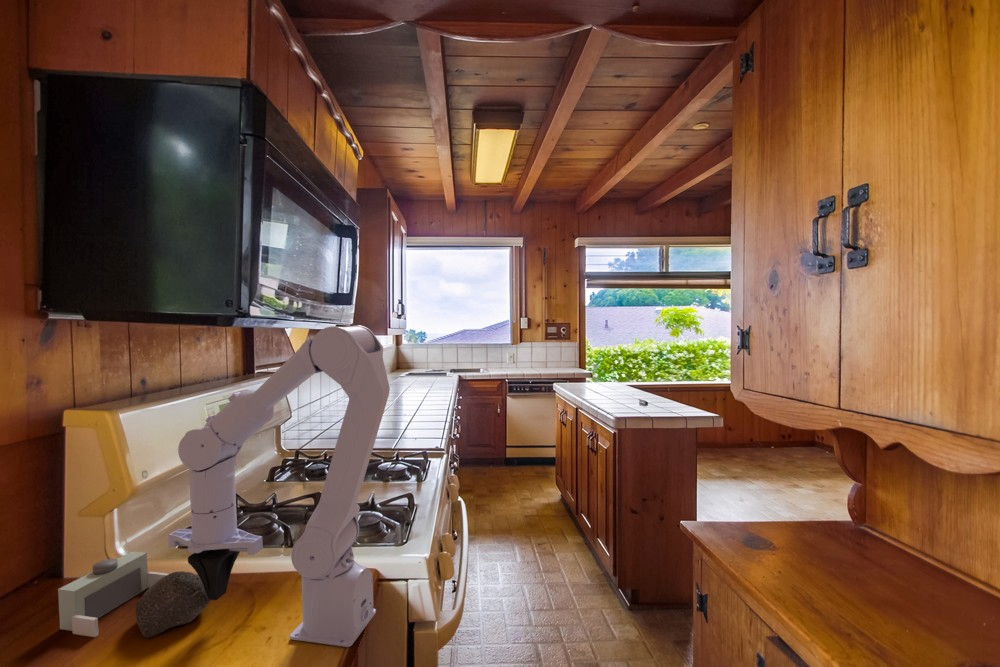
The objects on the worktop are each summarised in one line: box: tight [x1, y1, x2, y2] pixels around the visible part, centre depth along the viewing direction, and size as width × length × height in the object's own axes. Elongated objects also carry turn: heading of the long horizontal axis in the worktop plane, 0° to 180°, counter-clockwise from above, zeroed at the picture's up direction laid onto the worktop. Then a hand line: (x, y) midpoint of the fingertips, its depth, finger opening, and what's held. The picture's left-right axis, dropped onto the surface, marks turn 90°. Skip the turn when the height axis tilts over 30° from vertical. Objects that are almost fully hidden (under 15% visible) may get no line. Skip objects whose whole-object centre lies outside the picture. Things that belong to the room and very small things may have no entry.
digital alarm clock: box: [57, 551, 169, 638], centre depth 74 cm, size 7×12×7 cm, turn 168°
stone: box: [135, 571, 211, 639], centre depth 71 cm, size 10×8×10 cm
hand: (217, 596), depth 70 cm, fingers closed
